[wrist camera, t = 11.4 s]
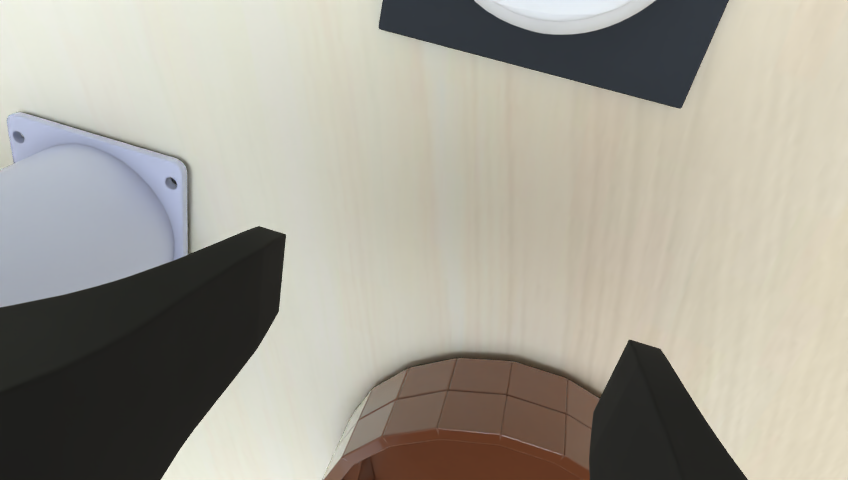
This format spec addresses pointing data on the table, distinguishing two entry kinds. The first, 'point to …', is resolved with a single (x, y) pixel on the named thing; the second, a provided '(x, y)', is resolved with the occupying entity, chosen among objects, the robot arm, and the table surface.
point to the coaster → (577, 43)
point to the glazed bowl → (468, 425)
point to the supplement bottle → (563, 13)
